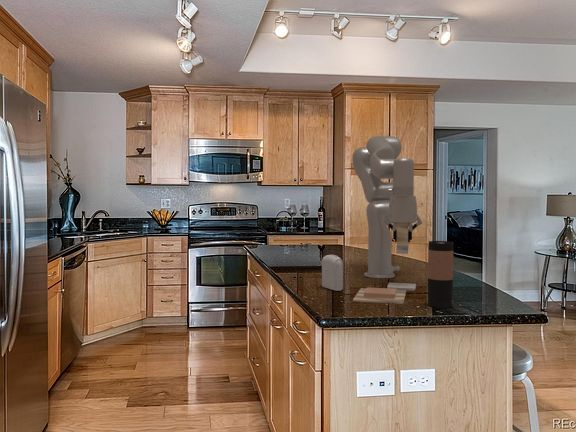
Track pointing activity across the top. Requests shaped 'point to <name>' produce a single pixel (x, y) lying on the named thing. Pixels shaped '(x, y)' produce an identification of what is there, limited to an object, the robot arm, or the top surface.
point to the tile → (380, 293)
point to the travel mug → (440, 274)
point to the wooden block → (402, 238)
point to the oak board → (398, 298)
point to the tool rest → (402, 286)
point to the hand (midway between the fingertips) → (402, 241)
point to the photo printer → (332, 272)
